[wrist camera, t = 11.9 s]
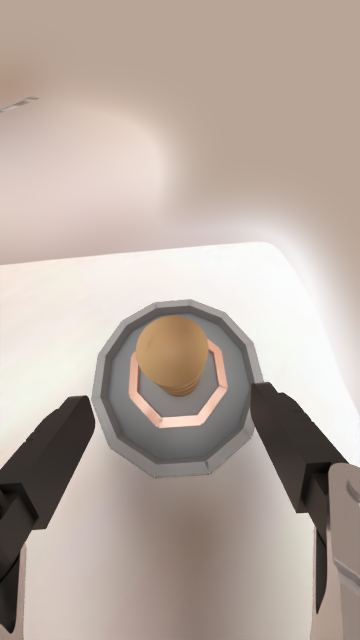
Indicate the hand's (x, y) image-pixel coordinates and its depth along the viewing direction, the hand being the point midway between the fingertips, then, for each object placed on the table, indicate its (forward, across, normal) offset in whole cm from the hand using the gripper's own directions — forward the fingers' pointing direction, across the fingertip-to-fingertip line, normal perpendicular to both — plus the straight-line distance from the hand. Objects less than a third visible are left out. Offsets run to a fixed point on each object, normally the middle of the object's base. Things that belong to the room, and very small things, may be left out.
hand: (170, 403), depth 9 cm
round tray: (+10, 0, +5) cm, 11 cm away
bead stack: (+9, 0, +5) cm, 10 cm away
